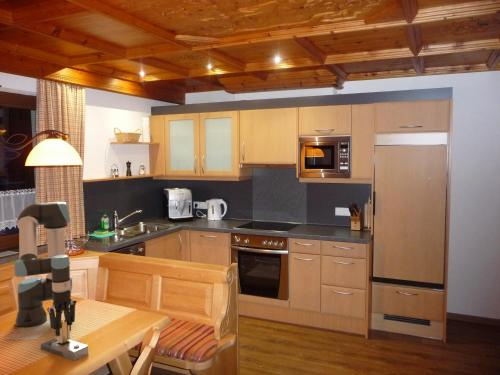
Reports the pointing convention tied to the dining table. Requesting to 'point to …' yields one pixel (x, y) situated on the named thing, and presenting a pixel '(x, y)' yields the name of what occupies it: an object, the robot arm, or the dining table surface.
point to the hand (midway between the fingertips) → (63, 340)
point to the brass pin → (64, 332)
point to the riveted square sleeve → (66, 349)
